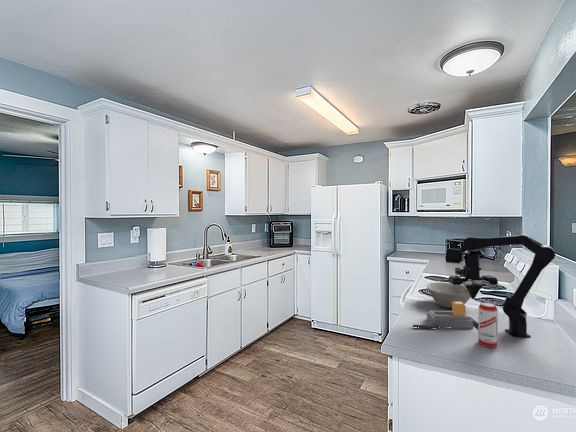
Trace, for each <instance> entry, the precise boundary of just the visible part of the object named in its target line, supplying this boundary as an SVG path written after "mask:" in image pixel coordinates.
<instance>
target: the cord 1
mask: <svg viewBox="0 0 576 432" xmlns="http://www.w3.org/2000/svg"><path fill="white" fill-rule="evenodd" d="M413 327H417V328H418V327H419V328H437V329H436V330H439V329H440V328H439V326H438V325H432V324H412V328H413Z"/></svg>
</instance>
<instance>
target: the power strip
mask: <svg viewBox="0 0 576 432" xmlns="http://www.w3.org/2000/svg"><path fill="white" fill-rule="evenodd" d="M470 317H471V316H469V315H468V314H467V313H466V312H465V316H454V315H453V314H452V310H429V311H426V319H427V320H429V321H430V322H431V323H432V324H433V325H438V326H439V327H451V328H450V329H465V328H469V329H468V330H470V329H472V330H473V329H474V324H473V320H471V318H472V317H471V318H470ZM429 321H428V322H429ZM430 322H429V323H430ZM431 323H430V324H431ZM432 324H431V325H432Z"/></svg>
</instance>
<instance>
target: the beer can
mask: <svg viewBox="0 0 576 432" xmlns="http://www.w3.org/2000/svg"><path fill="white" fill-rule="evenodd" d="M498 315H499V309H498V308H497V304H496V303H493V302H489V301H481V302H480V304H479V306H478V327H477V328H478V329H477V330H478V332H477V333H478V338H477V339H478V342H479V344H480V345H481V344H482V345H481V346H483V345H484V346H483V347H485V346H488V347H487V348H489V347H494V348H495V347H497V346H499V345H498V344H499V343H498V341H499V335H498V334H499V332H498V331H499V325H498V324H499V316H498Z"/></svg>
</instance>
